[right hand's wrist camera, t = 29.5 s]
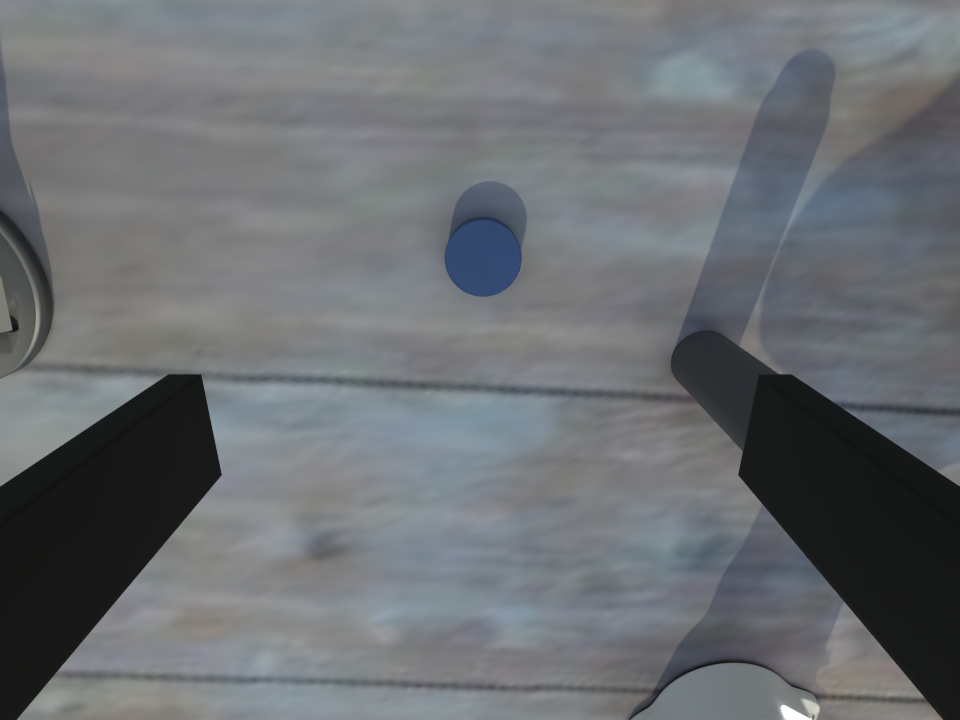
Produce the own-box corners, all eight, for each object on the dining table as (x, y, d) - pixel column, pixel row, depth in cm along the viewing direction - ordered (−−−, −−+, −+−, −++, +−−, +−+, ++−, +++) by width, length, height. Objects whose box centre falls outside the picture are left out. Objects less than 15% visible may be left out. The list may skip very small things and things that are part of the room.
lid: (493, 303, 38) (494, 310, 36) (433, 265, 37) (430, 270, 35) (533, 243, 36) (536, 247, 35) (471, 202, 36) (471, 204, 34)
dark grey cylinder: (691, 321, 38) (816, 411, 24) (745, 344, 39) (897, 446, 25) (659, 375, 40) (758, 490, 26) (711, 397, 41) (836, 521, 26)
